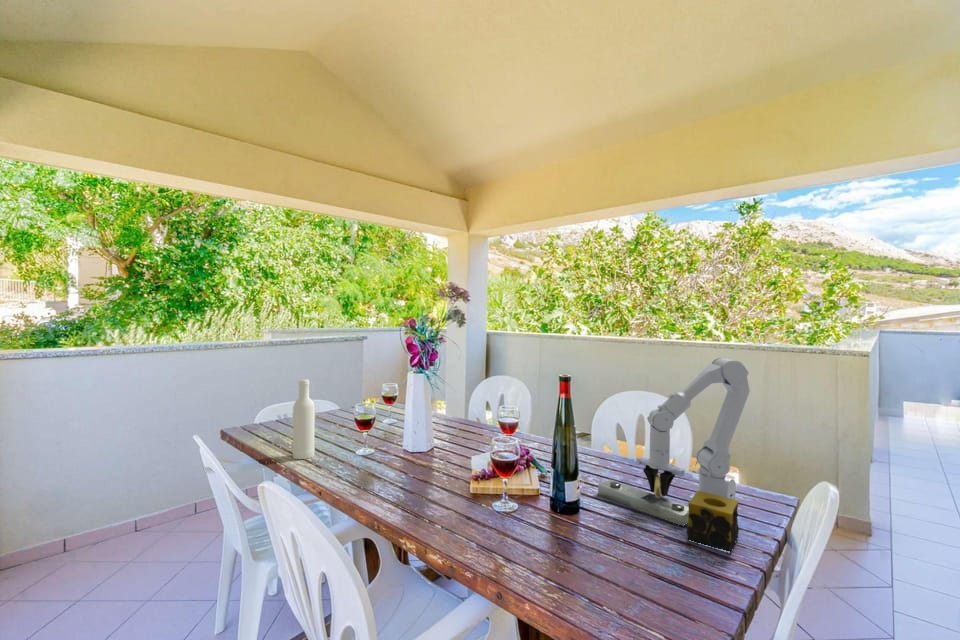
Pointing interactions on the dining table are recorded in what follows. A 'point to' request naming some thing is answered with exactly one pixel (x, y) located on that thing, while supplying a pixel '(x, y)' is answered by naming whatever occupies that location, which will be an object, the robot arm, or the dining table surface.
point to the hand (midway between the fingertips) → (659, 493)
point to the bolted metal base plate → (645, 501)
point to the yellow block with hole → (713, 520)
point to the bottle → (303, 423)
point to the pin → (657, 485)
